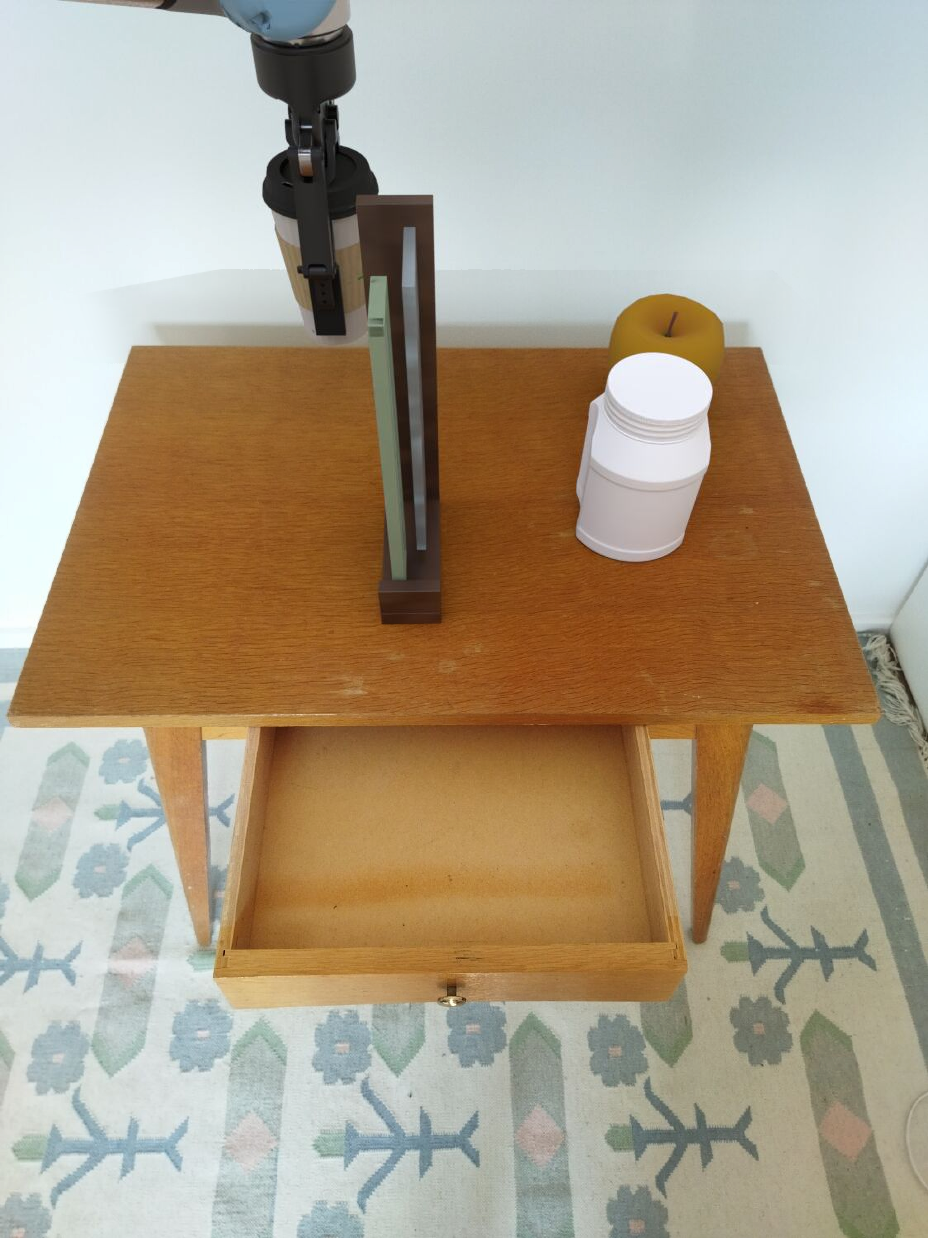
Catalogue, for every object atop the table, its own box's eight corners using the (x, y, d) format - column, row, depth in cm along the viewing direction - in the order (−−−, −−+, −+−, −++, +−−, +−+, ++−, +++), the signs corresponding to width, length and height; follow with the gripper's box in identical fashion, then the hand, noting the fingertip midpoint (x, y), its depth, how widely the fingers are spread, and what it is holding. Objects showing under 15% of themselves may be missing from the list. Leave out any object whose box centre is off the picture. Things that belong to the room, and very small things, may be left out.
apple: (578, 398, 86) (595, 286, 76) (669, 376, 88) (699, 265, 78) (624, 468, 80) (649, 358, 70) (721, 443, 82) (760, 333, 72)
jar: (683, 566, 73) (729, 439, 61) (575, 558, 73) (599, 430, 61) (674, 474, 80) (714, 342, 67) (576, 468, 80) (597, 335, 68)
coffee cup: (407, 317, 81) (400, 159, 69) (347, 369, 76) (328, 210, 64) (328, 285, 84) (308, 128, 72) (265, 333, 79) (232, 174, 67)
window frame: (382, 624, 69) (344, 324, 45) (386, 502, 77) (356, 194, 54) (441, 623, 69) (434, 324, 46) (439, 501, 77) (433, 193, 54)
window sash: (394, 595, 68) (367, 325, 47) (395, 549, 71) (370, 275, 50) (406, 594, 68) (384, 325, 47) (406, 548, 71) (386, 275, 50)
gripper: (343, 90, 54) (369, 374, 72) (359, -26, 66) (377, 242, 85) (228, 89, 54) (283, 374, 72) (265, -27, 66) (304, 241, 84)
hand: (334, 303), depth 78 cm, fingers closed on coffee cup, 9 cm apart
